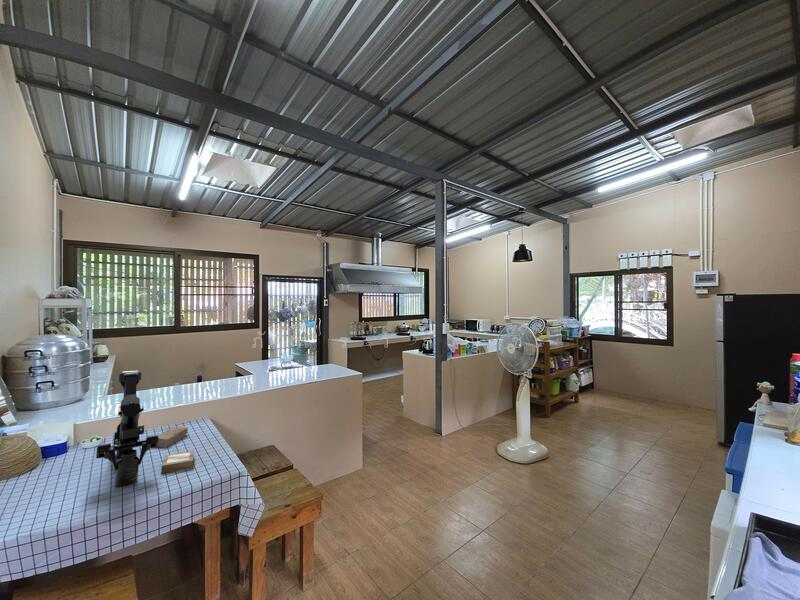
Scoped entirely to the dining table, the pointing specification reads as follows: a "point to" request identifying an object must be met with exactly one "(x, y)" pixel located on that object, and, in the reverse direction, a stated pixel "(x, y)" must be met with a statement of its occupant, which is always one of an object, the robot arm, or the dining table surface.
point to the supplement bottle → (127, 469)
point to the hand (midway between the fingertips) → (127, 467)
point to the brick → (171, 436)
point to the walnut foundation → (177, 461)
